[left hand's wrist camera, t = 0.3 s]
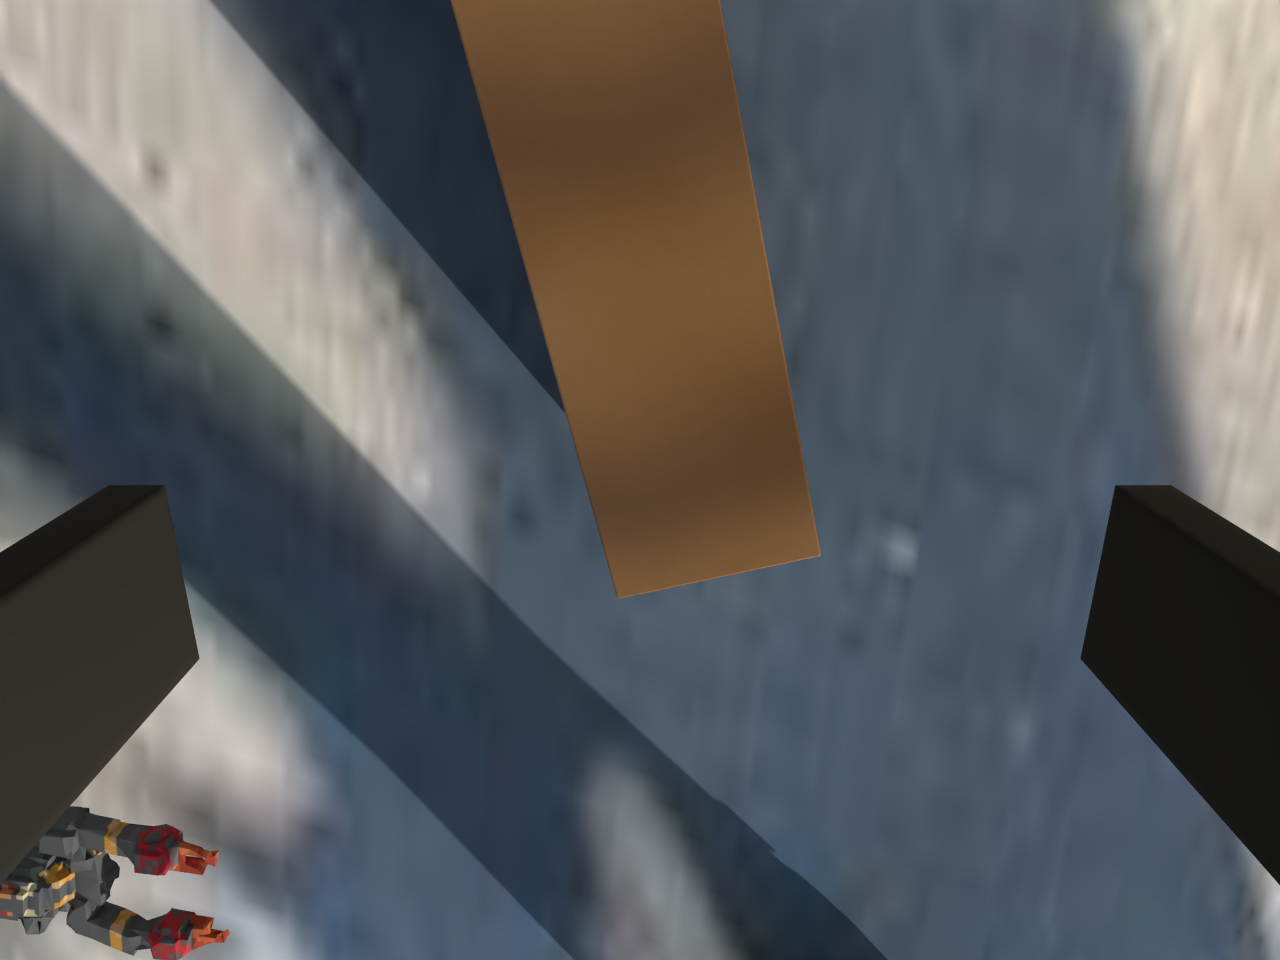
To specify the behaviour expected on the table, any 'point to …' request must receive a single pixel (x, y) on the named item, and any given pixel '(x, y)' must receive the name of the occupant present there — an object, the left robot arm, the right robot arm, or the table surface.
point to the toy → (106, 884)
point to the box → (647, 277)
